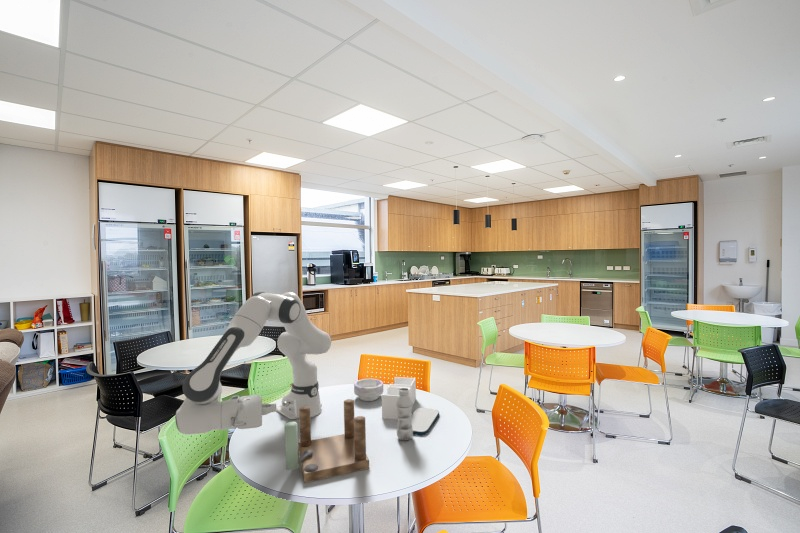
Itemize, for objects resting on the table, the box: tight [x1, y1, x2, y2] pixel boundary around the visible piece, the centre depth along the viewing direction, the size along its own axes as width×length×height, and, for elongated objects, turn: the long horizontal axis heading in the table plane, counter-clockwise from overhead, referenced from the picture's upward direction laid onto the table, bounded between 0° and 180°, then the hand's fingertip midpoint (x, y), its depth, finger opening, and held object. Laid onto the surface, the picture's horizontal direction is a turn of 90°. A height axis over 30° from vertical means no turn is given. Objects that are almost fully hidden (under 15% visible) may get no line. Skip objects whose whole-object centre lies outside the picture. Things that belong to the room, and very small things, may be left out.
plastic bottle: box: [396, 388, 414, 441], centre depth 152 cm, size 6×7×20 cm
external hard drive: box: [411, 407, 440, 436], centre depth 166 cm, size 24×12×2 cm, turn 159°
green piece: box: [284, 421, 313, 471], centre depth 130 cm, size 12×4×14 cm, turn 155°
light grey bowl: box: [353, 378, 384, 402], centre depth 196 cm, size 15×15×8 cm
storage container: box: [381, 376, 417, 420], centre depth 182 cm, size 25×11×11 cm, turn 167°
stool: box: [298, 398, 370, 483], centre depth 137 cm, size 22×22×17 cm
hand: (276, 407), depth 129 cm, fingers closed
